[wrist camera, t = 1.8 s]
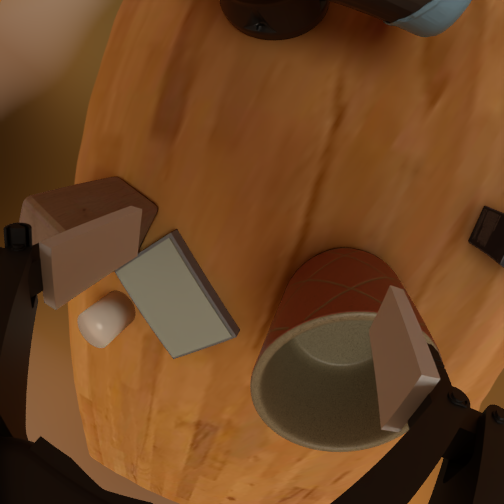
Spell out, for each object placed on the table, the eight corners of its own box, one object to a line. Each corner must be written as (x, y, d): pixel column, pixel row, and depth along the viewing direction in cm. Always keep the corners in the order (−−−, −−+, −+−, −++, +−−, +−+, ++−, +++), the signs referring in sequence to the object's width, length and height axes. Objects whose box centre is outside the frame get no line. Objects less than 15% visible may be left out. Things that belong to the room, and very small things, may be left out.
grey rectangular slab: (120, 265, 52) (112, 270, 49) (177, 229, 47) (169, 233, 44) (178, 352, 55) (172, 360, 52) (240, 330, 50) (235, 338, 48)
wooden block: (162, 206, 46) (71, 244, 28) (137, 255, 50) (55, 308, 32) (117, 173, 46) (21, 194, 28) (97, 222, 50) (10, 258, 32)
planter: (428, 300, 41) (473, 386, 23) (339, 372, 48) (336, 469, 30) (343, 212, 40) (358, 264, 22) (255, 303, 48) (212, 390, 29)
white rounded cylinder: (100, 298, 55) (71, 319, 47) (121, 285, 53) (91, 307, 45) (120, 327, 56) (94, 351, 48) (141, 317, 54) (115, 342, 46)
